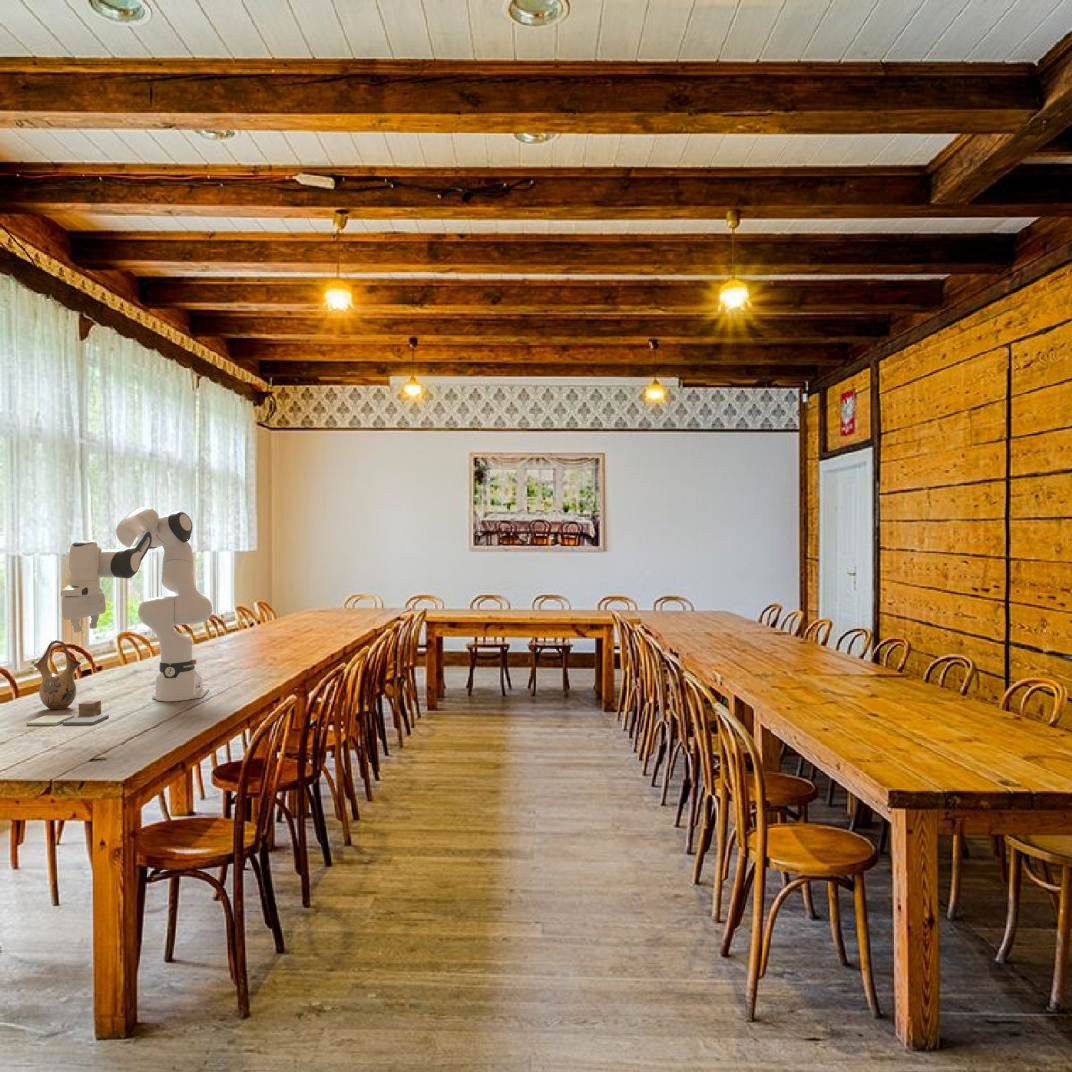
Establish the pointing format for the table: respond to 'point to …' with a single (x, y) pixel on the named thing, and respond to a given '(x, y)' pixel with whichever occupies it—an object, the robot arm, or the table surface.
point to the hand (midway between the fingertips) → (85, 630)
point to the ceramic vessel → (57, 681)
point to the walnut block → (90, 707)
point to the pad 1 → (50, 720)
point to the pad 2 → (85, 719)
